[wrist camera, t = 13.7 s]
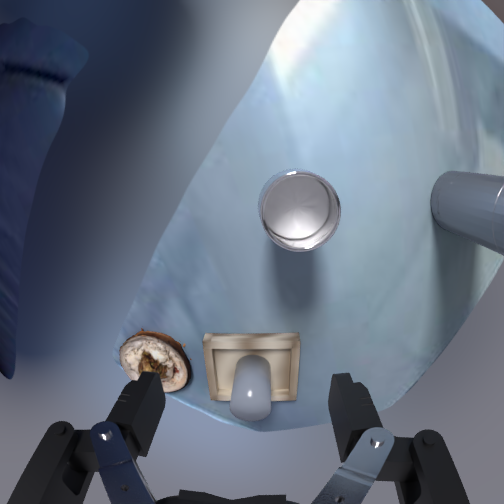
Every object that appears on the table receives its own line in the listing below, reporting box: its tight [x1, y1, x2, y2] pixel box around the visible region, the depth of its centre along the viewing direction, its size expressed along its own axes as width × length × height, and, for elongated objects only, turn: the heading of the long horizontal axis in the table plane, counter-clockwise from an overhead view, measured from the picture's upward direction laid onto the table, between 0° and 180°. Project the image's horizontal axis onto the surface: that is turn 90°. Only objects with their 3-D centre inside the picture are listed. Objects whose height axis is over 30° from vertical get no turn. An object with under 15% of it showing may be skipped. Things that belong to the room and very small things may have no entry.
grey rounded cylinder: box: [230, 355, 271, 421], centre depth 40 cm, size 6×6×9 cm
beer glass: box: [258, 169, 341, 252], centre depth 31 cm, size 7×7×15 cm
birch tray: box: [203, 333, 300, 401], centre depth 44 cm, size 14×12×2 cm
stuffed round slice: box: [119, 328, 191, 393], centre depth 44 cm, size 15×15×4 cm
